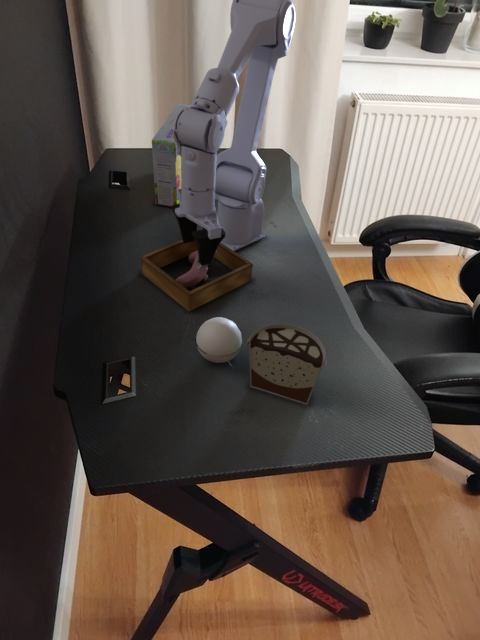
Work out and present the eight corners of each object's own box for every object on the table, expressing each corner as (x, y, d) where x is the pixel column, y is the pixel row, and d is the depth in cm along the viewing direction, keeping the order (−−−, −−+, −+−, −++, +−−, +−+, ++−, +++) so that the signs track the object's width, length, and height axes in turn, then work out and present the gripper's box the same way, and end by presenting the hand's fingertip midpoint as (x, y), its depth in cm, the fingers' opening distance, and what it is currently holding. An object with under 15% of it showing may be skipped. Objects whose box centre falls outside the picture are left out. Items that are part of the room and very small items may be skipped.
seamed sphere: (192, 342, 95) (193, 308, 90) (236, 340, 96) (239, 306, 91) (199, 386, 88) (200, 352, 83) (246, 383, 89) (250, 349, 84)
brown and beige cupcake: (326, 381, 91) (337, 335, 84) (316, 408, 87) (327, 361, 80) (254, 359, 93) (260, 312, 86) (241, 384, 89) (245, 336, 82)
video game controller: (192, 299, 105) (210, 275, 101) (171, 286, 104) (188, 261, 100) (207, 270, 113) (224, 246, 108) (187, 257, 111) (203, 233, 107)
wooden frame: (203, 247, 116) (203, 230, 113) (251, 280, 109) (253, 263, 106) (141, 273, 107) (139, 256, 104) (189, 311, 100) (189, 294, 98)
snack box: (177, 164, 141) (176, 102, 131) (199, 167, 141) (200, 105, 131) (153, 205, 126) (150, 138, 116) (178, 209, 126) (177, 142, 115)
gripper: (159, 168, 98) (161, 236, 107) (194, 208, 89) (193, 279, 98) (197, 162, 101) (196, 229, 110) (234, 201, 92) (229, 270, 101)
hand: (197, 252), depth 104 cm, fingers open, 7 cm apart
